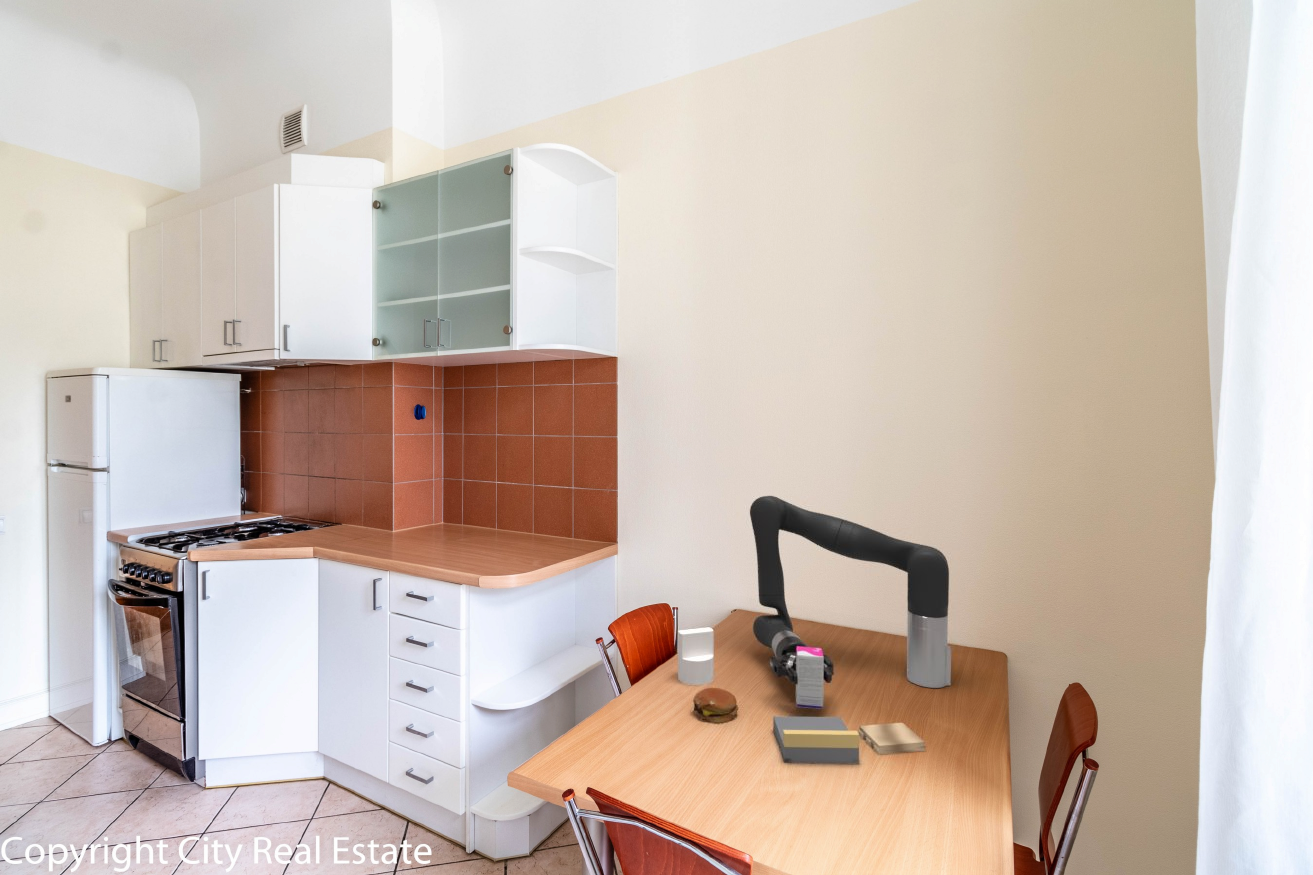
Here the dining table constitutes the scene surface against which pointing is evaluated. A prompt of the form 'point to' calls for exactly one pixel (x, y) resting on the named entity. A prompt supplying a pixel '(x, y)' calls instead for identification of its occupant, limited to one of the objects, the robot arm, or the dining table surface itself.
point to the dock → (816, 740)
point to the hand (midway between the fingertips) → (812, 679)
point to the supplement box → (809, 677)
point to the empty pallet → (891, 738)
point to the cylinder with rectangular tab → (696, 656)
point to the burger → (715, 705)
